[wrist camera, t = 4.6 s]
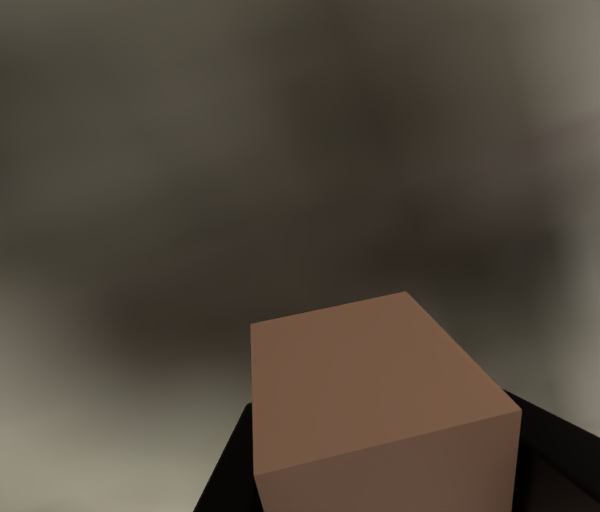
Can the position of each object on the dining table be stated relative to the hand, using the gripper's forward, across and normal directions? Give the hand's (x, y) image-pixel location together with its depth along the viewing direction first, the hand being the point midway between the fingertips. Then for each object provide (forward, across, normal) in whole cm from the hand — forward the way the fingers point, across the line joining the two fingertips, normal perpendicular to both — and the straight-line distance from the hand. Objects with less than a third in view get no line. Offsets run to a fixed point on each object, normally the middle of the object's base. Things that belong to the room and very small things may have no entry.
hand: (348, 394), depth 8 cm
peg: (+1, 0, +3) cm, 3 cm away
